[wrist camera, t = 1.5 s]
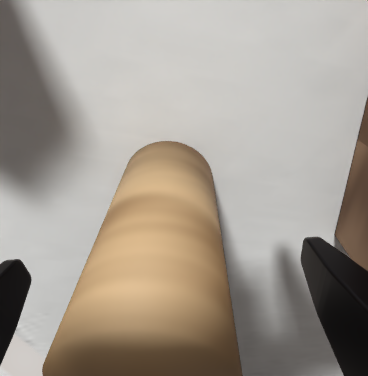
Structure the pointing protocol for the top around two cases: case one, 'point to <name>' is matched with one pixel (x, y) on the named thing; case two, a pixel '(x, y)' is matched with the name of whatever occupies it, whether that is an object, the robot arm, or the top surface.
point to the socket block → (356, 202)
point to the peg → (153, 279)
